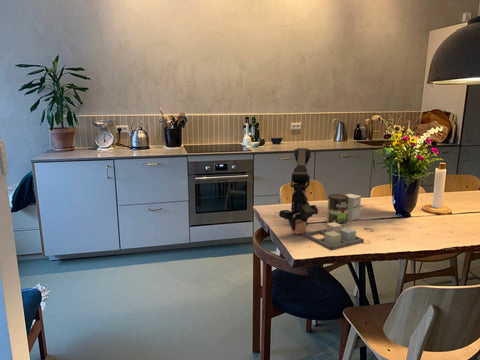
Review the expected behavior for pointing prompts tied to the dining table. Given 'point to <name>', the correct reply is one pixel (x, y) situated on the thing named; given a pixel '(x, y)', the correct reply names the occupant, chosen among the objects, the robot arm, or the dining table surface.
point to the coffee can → (337, 209)
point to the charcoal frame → (335, 236)
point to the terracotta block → (299, 227)
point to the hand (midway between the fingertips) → (298, 229)
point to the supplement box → (353, 207)
